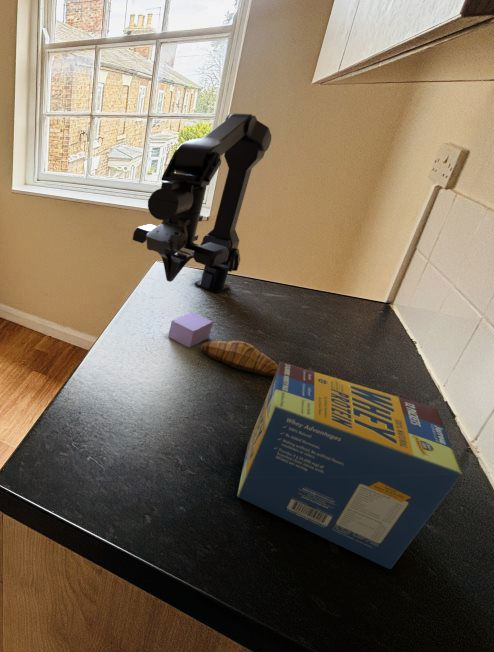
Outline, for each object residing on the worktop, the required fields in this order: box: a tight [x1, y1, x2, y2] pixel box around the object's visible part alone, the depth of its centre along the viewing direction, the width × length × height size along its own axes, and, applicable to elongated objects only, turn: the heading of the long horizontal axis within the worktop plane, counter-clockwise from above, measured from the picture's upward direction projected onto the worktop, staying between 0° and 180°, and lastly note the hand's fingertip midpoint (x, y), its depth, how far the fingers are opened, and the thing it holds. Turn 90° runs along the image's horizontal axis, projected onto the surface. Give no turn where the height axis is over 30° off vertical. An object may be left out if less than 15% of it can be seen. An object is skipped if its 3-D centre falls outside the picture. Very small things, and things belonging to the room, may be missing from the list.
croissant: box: [200, 340, 279, 378], centre depth 76 cm, size 14×7×5 cm, turn 52°
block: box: [167, 311, 214, 349], centre depth 84 cm, size 7×5×4 cm
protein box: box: [236, 361, 463, 570], centre depth 48 cm, size 10×15×16 cm
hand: (169, 280), depth 87 cm, fingers closed
